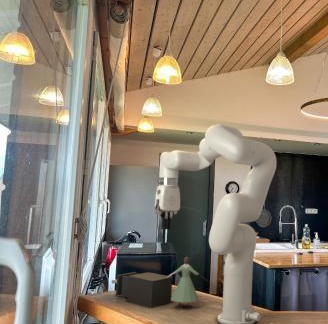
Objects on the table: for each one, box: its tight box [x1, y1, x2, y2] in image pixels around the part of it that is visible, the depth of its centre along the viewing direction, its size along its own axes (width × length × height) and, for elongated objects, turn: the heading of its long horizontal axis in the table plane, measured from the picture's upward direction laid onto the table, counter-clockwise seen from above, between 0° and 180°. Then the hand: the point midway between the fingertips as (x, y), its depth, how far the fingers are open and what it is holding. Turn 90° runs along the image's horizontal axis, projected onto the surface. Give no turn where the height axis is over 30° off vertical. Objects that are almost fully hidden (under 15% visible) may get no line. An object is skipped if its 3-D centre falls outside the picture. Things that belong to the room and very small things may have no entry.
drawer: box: [111, 271, 138, 298], centre depth 151 cm, size 17×9×8 cm, turn 57°
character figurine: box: [167, 256, 210, 309], centre depth 141 cm, size 16×8×18 cm, turn 91°
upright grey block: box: [126, 271, 173, 309], centre depth 145 cm, size 13×10×9 cm
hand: (165, 228), depth 152 cm, fingers closed
